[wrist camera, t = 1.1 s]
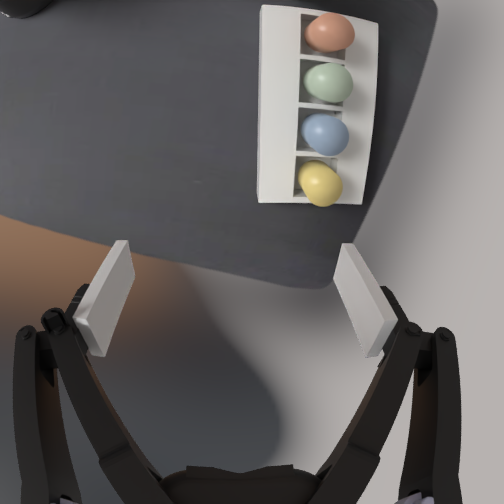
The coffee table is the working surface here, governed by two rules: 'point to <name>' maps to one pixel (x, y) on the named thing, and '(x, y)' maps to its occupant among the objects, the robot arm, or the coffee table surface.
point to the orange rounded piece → (329, 33)
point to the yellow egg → (320, 183)
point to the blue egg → (325, 134)
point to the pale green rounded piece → (328, 82)
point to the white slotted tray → (310, 104)
